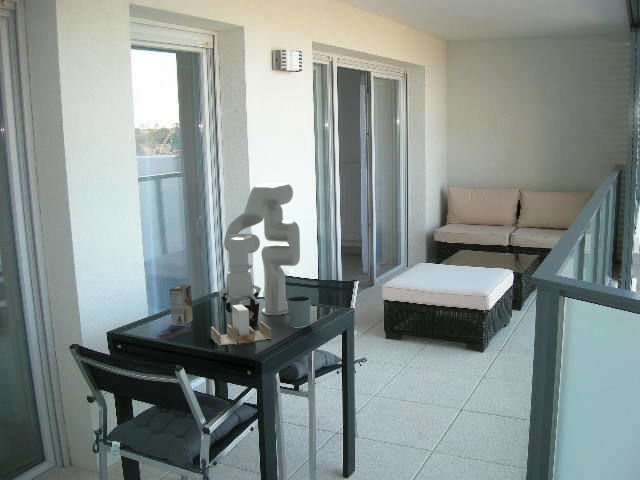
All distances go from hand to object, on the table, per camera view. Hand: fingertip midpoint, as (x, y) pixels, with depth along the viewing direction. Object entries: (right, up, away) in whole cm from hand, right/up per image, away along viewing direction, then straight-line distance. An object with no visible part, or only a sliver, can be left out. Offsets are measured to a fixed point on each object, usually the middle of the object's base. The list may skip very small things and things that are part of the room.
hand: (240, 310), depth 276 cm
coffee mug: (0, -9, +22) cm, 23 cm away
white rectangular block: (0, -11, +1) cm, 11 cm away
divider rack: (0, -12, +1) cm, 12 cm away
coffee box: (-29, -8, +26) cm, 40 cm away
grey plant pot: (+23, -9, +19) cm, 31 cm away
